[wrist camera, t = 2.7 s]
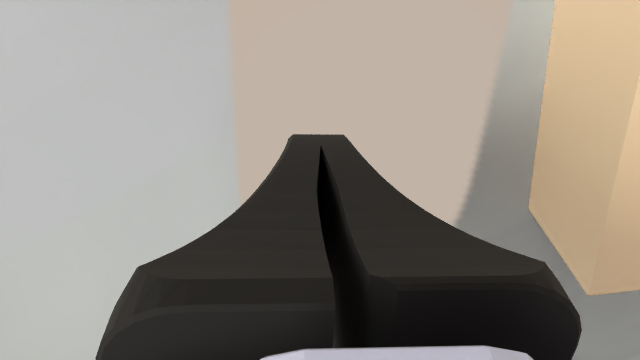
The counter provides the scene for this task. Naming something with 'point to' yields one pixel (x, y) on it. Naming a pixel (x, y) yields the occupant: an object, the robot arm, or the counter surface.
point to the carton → (592, 143)
